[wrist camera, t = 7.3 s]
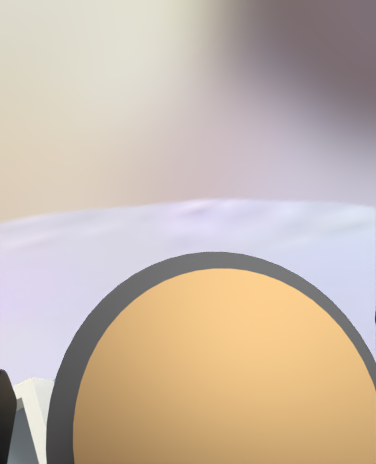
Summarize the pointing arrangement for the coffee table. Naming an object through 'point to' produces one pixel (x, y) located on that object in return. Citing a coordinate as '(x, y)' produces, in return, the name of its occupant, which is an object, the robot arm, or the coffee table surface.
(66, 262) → the coffee table surface
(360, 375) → the grey and orange cylinder
